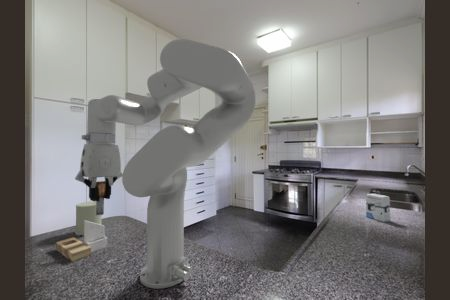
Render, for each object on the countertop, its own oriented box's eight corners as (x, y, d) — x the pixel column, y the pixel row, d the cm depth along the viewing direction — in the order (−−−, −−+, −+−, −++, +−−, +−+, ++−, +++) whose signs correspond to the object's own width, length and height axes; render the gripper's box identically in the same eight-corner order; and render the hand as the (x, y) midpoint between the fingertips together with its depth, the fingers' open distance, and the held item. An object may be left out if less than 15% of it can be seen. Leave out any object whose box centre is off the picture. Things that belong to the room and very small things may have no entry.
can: (99, 233, 81) (99, 203, 81) (71, 237, 77) (72, 206, 77) (103, 226, 89) (104, 199, 89) (79, 228, 86) (79, 201, 86)
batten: (91, 254, 63) (91, 247, 63) (72, 261, 59) (72, 253, 59) (73, 243, 71) (73, 237, 71) (55, 249, 67) (55, 242, 67)
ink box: (365, 216, 102) (365, 193, 102) (372, 215, 103) (372, 193, 104) (383, 222, 94) (382, 197, 94) (390, 221, 95) (390, 196, 95)
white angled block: (68, 247, 63) (84, 220, 67) (98, 252, 70) (111, 227, 74) (72, 251, 61) (89, 222, 64) (102, 255, 68) (116, 229, 71)
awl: (107, 213, 62) (108, 181, 62) (96, 216, 59) (97, 182, 59) (102, 212, 63) (103, 180, 63) (92, 214, 61) (93, 181, 61)
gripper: (75, 137, 53) (73, 207, 52) (133, 141, 66) (132, 196, 66) (64, 138, 57) (63, 203, 57) (121, 142, 71) (120, 193, 70)
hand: (100, 198), depth 61 cm, fingers closed on awl, 3 cm apart
